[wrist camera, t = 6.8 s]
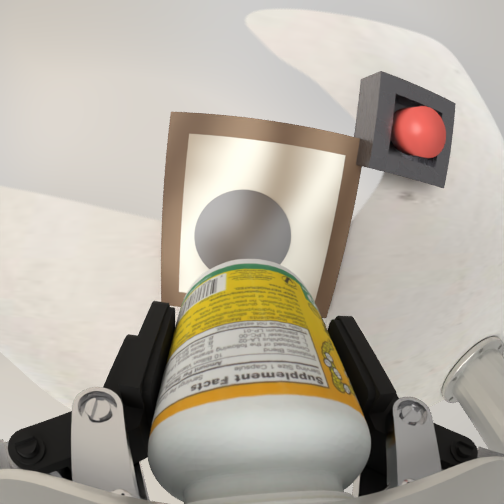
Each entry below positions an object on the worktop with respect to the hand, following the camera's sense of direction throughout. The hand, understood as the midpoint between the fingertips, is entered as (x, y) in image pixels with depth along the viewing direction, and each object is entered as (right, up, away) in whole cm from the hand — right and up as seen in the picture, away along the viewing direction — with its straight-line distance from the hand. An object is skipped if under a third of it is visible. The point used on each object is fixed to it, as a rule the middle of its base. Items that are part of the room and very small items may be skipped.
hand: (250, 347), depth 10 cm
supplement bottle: (0, +1, +2) cm, 2 cm away
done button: (+12, +12, +8) cm, 19 cm away
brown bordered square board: (0, +6, +12) cm, 14 cm away
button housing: (+11, +13, +10) cm, 20 cm away
